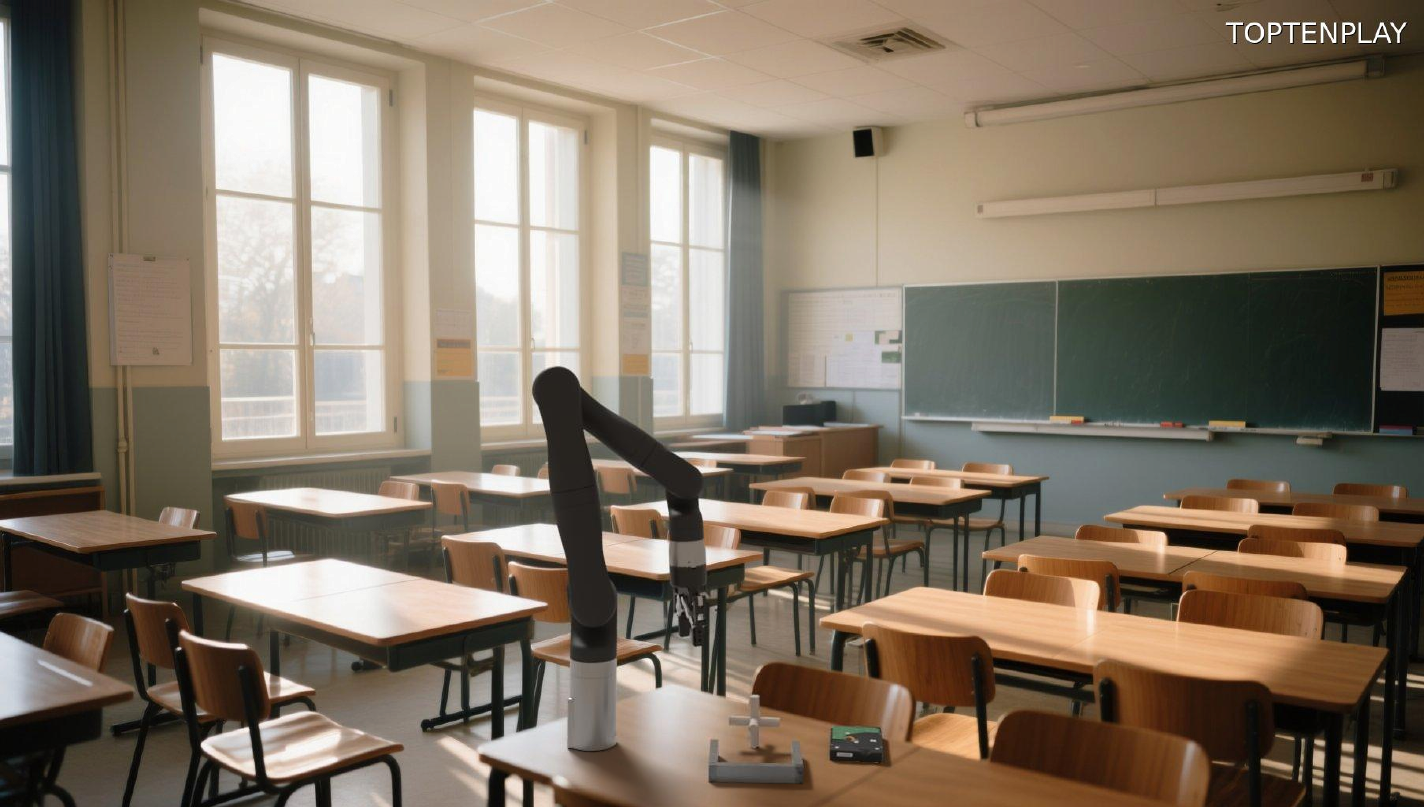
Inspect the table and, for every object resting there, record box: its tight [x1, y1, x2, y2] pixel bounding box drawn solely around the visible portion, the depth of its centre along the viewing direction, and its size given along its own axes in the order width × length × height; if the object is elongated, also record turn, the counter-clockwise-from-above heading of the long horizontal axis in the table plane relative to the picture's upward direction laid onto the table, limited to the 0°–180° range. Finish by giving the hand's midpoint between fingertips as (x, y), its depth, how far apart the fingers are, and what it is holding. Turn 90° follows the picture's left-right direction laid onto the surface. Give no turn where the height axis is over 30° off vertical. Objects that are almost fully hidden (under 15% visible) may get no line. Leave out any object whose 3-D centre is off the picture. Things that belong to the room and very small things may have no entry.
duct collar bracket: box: [707, 739, 805, 784], centre depth 188 cm, size 17×14×3 cm
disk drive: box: [828, 724, 884, 764], centre depth 199 cm, size 10×3×15 cm
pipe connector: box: [728, 694, 781, 748], centre depth 200 cm, size 10×10×10 cm
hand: (691, 641), depth 205 cm, fingers open, 8 cm apart
